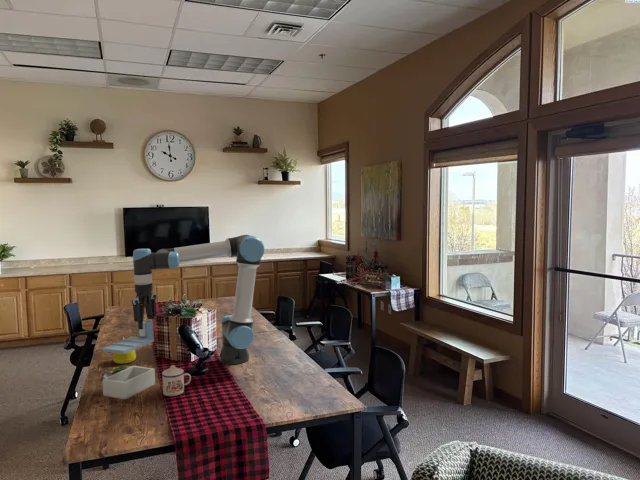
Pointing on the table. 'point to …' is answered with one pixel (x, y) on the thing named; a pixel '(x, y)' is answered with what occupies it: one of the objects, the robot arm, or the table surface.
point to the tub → (128, 382)
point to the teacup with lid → (174, 381)
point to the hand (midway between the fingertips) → (146, 334)
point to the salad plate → (114, 371)
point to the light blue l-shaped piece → (132, 341)
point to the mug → (124, 357)
